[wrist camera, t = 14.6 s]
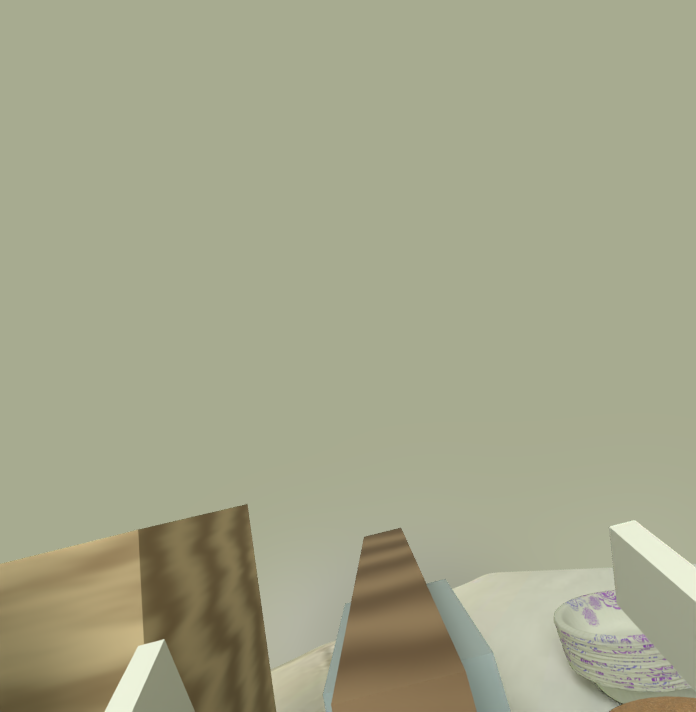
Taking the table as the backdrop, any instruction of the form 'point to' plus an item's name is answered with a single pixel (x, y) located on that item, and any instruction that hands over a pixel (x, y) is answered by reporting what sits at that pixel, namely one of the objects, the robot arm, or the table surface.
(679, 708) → the lidded bowl
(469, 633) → the base block
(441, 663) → the walnut block
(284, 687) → the table surface
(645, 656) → the paper bowls
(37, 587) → the tall stand
